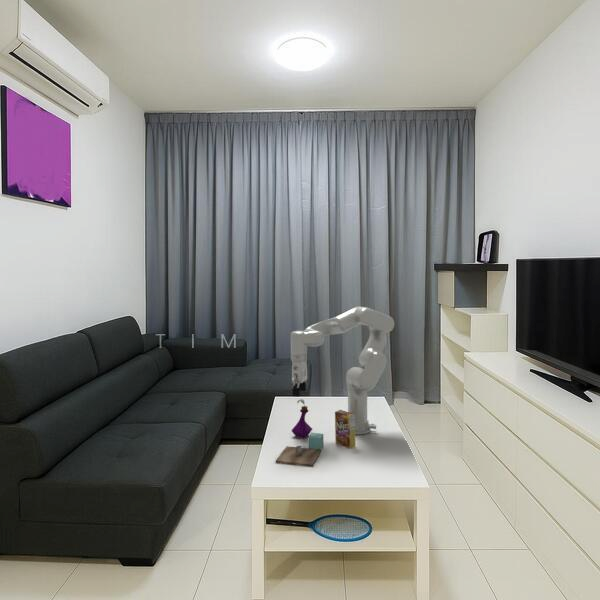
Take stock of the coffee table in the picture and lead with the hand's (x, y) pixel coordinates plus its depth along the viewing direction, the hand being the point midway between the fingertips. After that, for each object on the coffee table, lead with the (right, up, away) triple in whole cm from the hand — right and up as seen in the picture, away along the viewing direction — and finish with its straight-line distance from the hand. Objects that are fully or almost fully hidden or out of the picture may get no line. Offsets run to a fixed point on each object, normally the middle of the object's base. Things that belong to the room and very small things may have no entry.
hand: (299, 393), depth 216 cm
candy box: (+21, -23, -6) cm, 31 cm away
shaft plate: (0, -24, -19) cm, 30 cm away
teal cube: (+8, -23, -9) cm, 26 cm away
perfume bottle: (+1, -22, +6) cm, 23 cm away
